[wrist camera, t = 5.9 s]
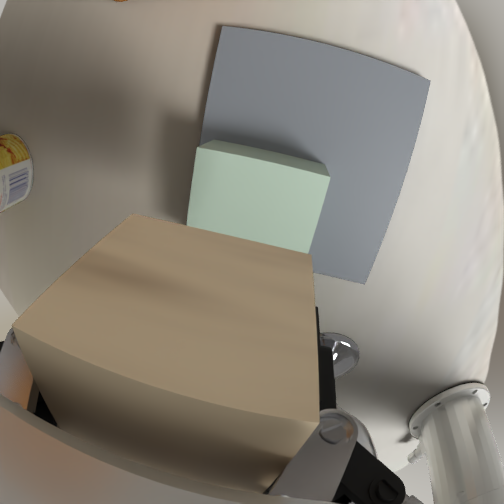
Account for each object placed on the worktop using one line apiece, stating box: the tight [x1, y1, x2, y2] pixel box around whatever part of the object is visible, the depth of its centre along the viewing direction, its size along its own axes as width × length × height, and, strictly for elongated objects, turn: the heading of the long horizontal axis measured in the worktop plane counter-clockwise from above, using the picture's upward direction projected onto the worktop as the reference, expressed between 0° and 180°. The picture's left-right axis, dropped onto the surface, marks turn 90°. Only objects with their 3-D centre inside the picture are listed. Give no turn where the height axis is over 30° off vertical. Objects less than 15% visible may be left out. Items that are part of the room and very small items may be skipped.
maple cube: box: [12, 214, 320, 494], centre depth 9 cm, size 6×6×6 cm
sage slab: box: [186, 140, 331, 254], centre depth 21 cm, size 8×8×4 cm
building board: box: [199, 26, 430, 284], centre depth 22 cm, size 17×15×1 cm
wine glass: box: [320, 333, 378, 459], centre depth 24 cm, size 8×8×15 cm
